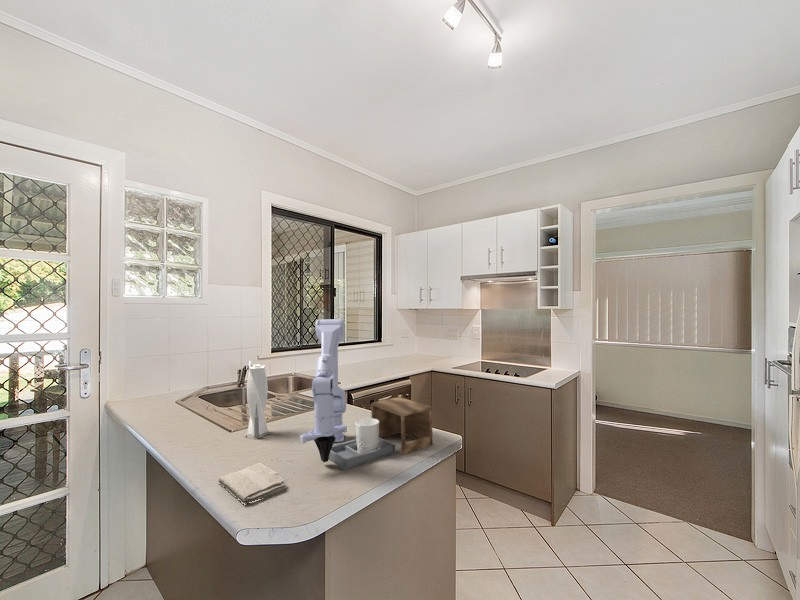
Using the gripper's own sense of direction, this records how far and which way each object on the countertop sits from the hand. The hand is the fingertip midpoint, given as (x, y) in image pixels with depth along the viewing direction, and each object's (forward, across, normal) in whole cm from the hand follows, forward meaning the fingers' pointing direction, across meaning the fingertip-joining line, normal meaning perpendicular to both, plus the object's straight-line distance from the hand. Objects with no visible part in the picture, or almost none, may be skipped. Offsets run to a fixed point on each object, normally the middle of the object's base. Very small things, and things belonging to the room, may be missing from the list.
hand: (324, 460), depth 108 cm
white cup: (+2, +16, 0) cm, 16 cm away
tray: (+1, +12, 0) cm, 13 cm away
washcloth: (+2, -21, +1) cm, 21 cm away
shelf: (+1, +30, 0) cm, 30 cm away
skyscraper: (+2, -8, +42) cm, 42 cm away
